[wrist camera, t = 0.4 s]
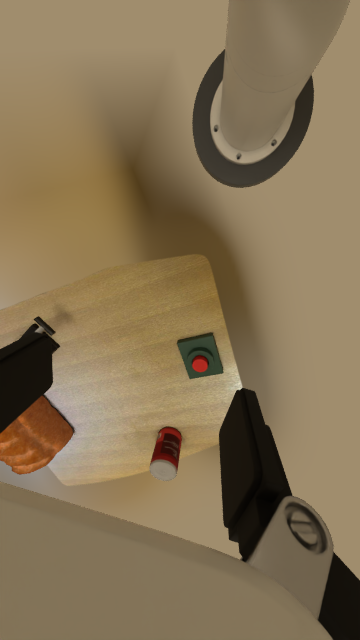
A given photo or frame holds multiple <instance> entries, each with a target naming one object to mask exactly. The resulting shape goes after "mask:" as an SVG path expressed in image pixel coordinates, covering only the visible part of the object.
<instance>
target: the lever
mask: <svg viewBox="0 0 360 640" xmlns="http://www.w3.org/2000/svg"><path fill="white" fill-rule="evenodd" d="M34 320H35V321H36V322H37V323H38V324H39V325H40V327H39V328H38V329H37V330H36V331H35V332H38V333H43V332H44V331H47V332H48V333H49V334H50V335H51V336H52V335H53V334H55V333H56V332H55V331H54V330H53V329H52V328H51V327H50V326H49V325H48V324H46V323H45V322H44V321H43V320H42V319H41V318H40V317H39V316H38V317H36V318H35V319H34Z"/></svg>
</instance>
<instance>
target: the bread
mask: <svg viewBox="0 0 360 640" xmlns="http://www.w3.org/2000/svg"><path fill="white" fill-rule="evenodd" d="M72 436H73V431H72V428H71V427H70V426H69V424H68V423H67V422H66V421H65V420H64V419H63V418H62V416H61V415H60V414H59V413H58V412H57V411H56V409H54V408H52V407H51V405H50V404H49V402H48V401H47V400H46V399H45V398H44V397H43V396H41V397H40V398H39V399H38V400H37V401H35V402H34V403H33V404H32V405H31V406H30V407H29V408H28V409H27V410H26V411H25V412H23V413H22V414H21V415H20V416H19V417H18V418H17V419H16V420H15V421H14V422H12V423H11V424H10V425H9V426H8V427H7V428H6V429H5V430H4V431H3V432H2V433H0V460H1V461H4V462H5V463H6V464H7V465H9V466H11V467H12V471H13V472H15V473H17V474H27V473H31V472H34V471H36V470H38V469H40V468H42V467H44V466H46V465H47V464H48V463H49V462H50V461H51V460H52V459H53V458H54V457H55V455H56V453H58V452H59V451H60V450H62V448H63V447H64V446H65V445H66V444H67V443H68V441H69V440H70V439H71V437H72Z"/></svg>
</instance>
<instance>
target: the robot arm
mask: <svg viewBox="0 0 360 640" xmlns="http://www.w3.org/2000/svg"><path fill="white" fill-rule="evenodd" d="M349 2H350V0H229V9H228V24H227V34H226V47H225V59H224V72H223V80H222V82H221V83H220V85H219V87H218V89H217V91H216V93H215V96H214V99H213V102H212V107H211V113H210V128H211V134H212V139H213V142H214V144H215V146H216V148H217V150H218V151H219V153H220V154H221V155H222V156H223V157H224V158H225V159H227V160H228V161H230V162H232V163H235V164H238V165H249V164H254V163H256V162H259V161H261V160H263V159H264V158H266V157H267V156H269V155H270V154H271V153H272V152H273V151H274V150H275V149H276V148H277V147H278V146H279V144H280V143H281V142H282V140H283V139H284V137H285V135H286V133H287V131H288V130H289V127H290V124H291V122H292V119H293V114H294V109H295V100H296V99H297V97H298V95H299V94H300V92H301V91H302V89H303V87H304V86H305V84H306V82H307V81H308V79H309V78H310V76H311V74H312V72H313V71H314V69H315V68H316V66H317V64H318V63H319V61H320V60H321V58H322V56H323V55H324V53H325V52H326V50H327V48H328V47H329V45H330V43H331V42H332V40H333V38H334V36H335V35H336V33H337V31H338V29H339V27H340V25H341V22H342V20H343V17H344V15H345V13H346V10H347V8H348V5H349ZM215 130H217V132H214V131H215ZM271 144H274V146H272V145H271ZM237 157H239V158H240V159H239V160H238V159H237ZM52 383H53V372H52V341H51V339H50V338H49V336H48V335H46V334H42V333H38V332H33V333H31V334H29V335H27V336H25V337H23V338H21V339H19V340H17V341H15V342H13V343H12V344H10V345H8V346H6V347H4V348H2V349H0V433H2V432H3V431H4V430H5V429H6V428H7V427H8V426H9V425H10V424H11V423H12V422H14V421H15V420H16V419H17V418H18V417H19V416H20V415H21V414H22V413H23V412H25V411H26V410H27V409H28V408H29V407H30V406H31V405H32V404H33V403H34V402H35V401H37V400H38V399H39V398H40V397H41V396H42V395H43V394H44V393H45V392H46V391H47V390H49V388H50V387H51V385H52ZM219 445H220V464H221V484H222V501H223V521H224V526H225V527H226V528H228V531H229V540H231V541H234V542H238V543H239V552H240V554H241V555H242V557H241V559H240V560H239V559H237V558H234V557H232V556H229V555H227V554H225V553H222V552H220V551H217V550H214V549H212V548H209V547H206V546H203V545H200V544H197V543H194V542H191V541H188V540H185V539H182V538H179V537H176V536H173V535H170V534H167V533H164V532H161V531H158V530H155V529H152V528H148V527H145V526H142V525H138V524H135V523H133V522H129V521H126V520H123V519H120V518H117V517H113V516H110V515H107V514H104V513H101V512H98V511H94V510H91V509H88V508H85V507H81V506H78V505H75V504H71V503H68V502H65V501H62V500H59V499H55V498H52V497H49V496H46V495H42V494H39V493H36V492H33V491H29V490H26V489H23V488H20V487H16V486H13V485H10V484H7V483H3V482H0V640H360V580H359V579H358V578H357V577H356V576H355V575H354V574H353V573H352V572H351V571H350V569H349V568H348V567H347V566H346V565H345V564H344V563H343V562H342V561H341V559H340V558H339V557H338V556H337V555H336V554H335V553H334V552H333V542H332V538H331V535H330V533H329V530H328V528H327V526H326V524H325V523H324V521H323V520H322V518H321V517H320V515H319V514H318V513H317V512H316V511H315V510H314V509H313V508H312V507H311V506H310V505H309V504H308V503H306V502H305V501H304V500H302V499H300V498H298V497H294V496H292V493H291V490H290V487H289V484H288V481H287V478H286V475H285V472H284V468H283V465H282V462H281V459H280V456H279V454H278V450H277V447H276V444H275V441H274V438H273V435H272V432H271V430H270V427H269V426H268V425H265V422H264V419H263V416H262V413H261V409H260V406H259V403H258V399H257V396H256V393H255V392H254V391H251V390H248V389H245V388H242V389H241V390H237V391H236V393H235V395H234V398H233V400H232V402H231V405H230V407H229V409H228V412H227V414H226V417H225V419H224V421H223V424H222V426H221V429H220V432H219Z"/></svg>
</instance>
